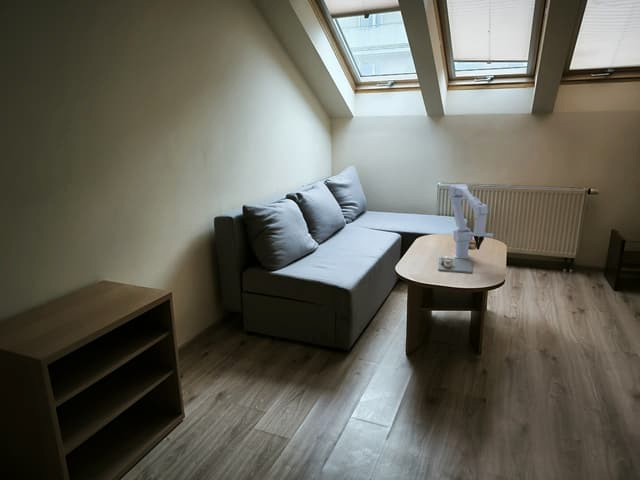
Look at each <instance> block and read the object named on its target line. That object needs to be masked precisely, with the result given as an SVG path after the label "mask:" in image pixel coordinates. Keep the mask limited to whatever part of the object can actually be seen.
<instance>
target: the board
mask: <svg viewBox="0 0 640 480" xmlns="http://www.w3.org/2000/svg"><path fill="white" fill-rule="evenodd" d="M444 265H445V260H444ZM444 265H441V257H438V267H437V268H438V270H437V271H439V272H447V273H448V272H449V273H460V274H461V273H463V274H473V267H472V266H473V265H472V259H463V258H453V260H451V268H445V267H444Z"/></svg>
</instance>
